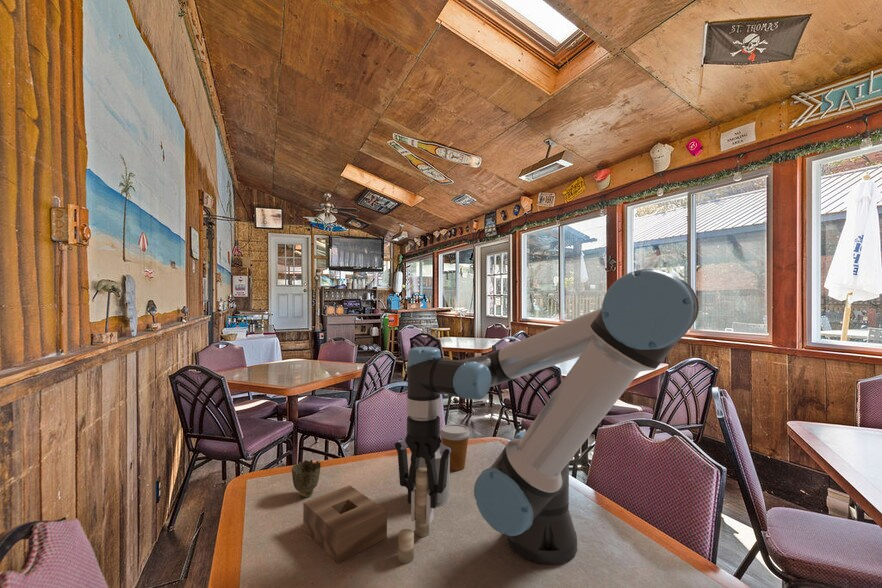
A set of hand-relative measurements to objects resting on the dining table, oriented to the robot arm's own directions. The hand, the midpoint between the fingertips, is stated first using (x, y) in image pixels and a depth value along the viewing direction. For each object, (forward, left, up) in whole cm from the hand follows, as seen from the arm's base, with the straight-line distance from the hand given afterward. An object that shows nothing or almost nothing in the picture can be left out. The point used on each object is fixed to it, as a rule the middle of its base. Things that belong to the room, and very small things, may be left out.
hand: (422, 519), depth 87 cm
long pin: (0, 0, -3) cm, 3 cm away
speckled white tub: (+10, -12, -3) cm, 16 cm away
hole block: (+12, +13, -3) cm, 18 cm away
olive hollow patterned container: (+34, +12, -3) cm, 36 cm away
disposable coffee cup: (+19, -30, -3) cm, 36 cm away
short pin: (-4, +8, -3) cm, 10 cm away
